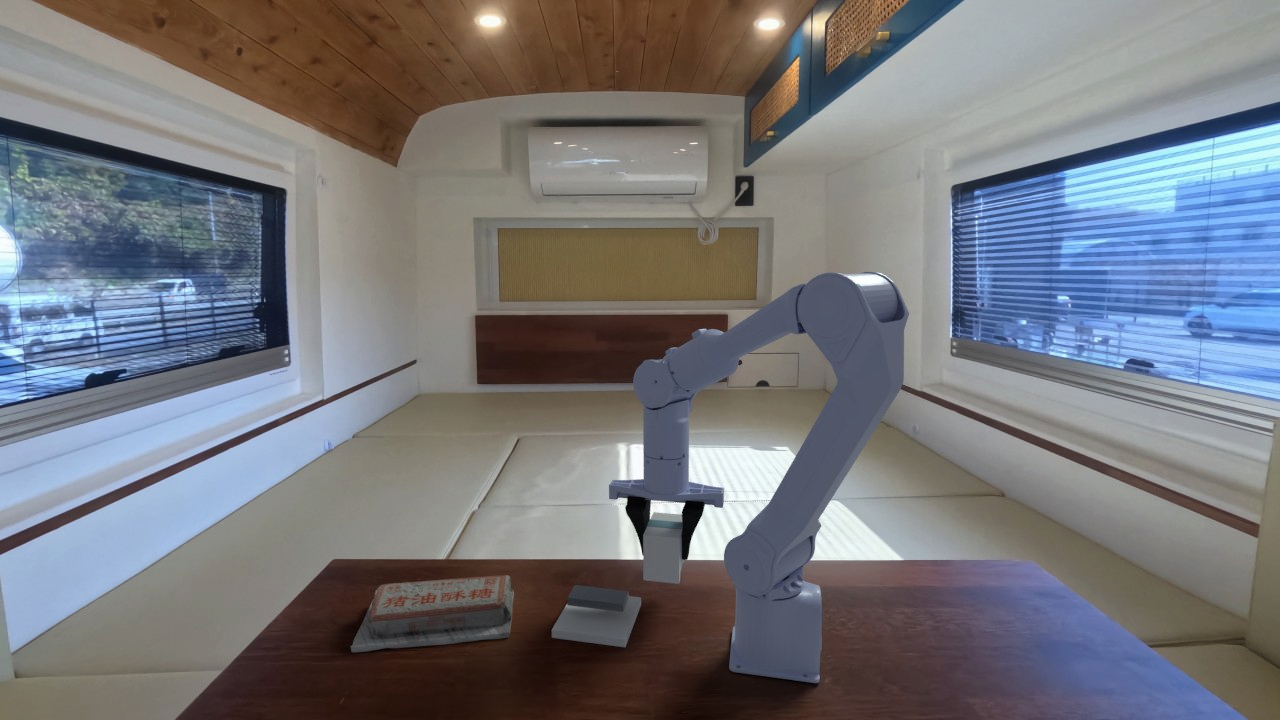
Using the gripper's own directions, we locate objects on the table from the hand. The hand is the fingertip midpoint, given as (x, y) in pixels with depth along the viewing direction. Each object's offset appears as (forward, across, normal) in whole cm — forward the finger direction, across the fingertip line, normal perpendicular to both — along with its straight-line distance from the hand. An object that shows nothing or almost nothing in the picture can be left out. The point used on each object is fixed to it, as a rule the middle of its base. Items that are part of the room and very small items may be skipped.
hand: (665, 554), depth 77 cm
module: (+2, 0, 0) cm, 2 cm away
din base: (+7, +8, +6) cm, 12 cm away
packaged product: (+8, +27, +10) cm, 30 cm away
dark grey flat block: (+4, +8, +6) cm, 10 cm away
